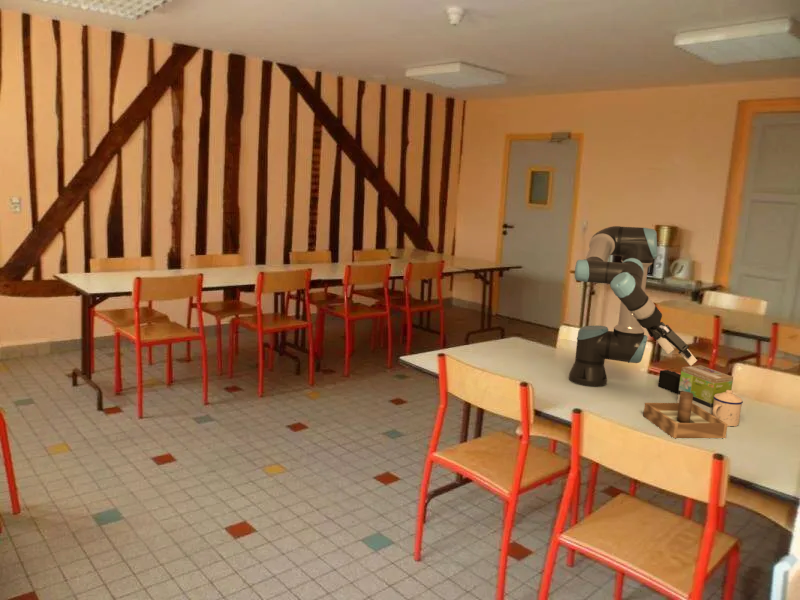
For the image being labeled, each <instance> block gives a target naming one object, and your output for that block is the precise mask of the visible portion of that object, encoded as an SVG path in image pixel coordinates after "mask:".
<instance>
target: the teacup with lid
mask: <svg viewBox="0 0 800 600" xmlns="http://www.w3.org/2000/svg"><path fill="white" fill-rule="evenodd" d="M743 403H744V401H743V399H742V398H741V397H739V396H737V395H736V394H735V393H733V390H732V389H731V390H726V392H723V393H718V394H715V395H714V403H713V410H712V415H713V416H715V417H716V418H718V419H720V420H721V421H723V422H725V423H726V424H728V425H727V427H730V426H734V427H737V425H738V426H739V423H740V419H741V412H742V405H743Z"/></svg>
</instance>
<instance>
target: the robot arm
mask: <svg viewBox="0 0 800 600" xmlns="http://www.w3.org/2000/svg"><path fill="white" fill-rule="evenodd" d="M657 236H658V233H657V231H656V230H655V229H654V228H648V227H640V226H639V227H637V226H633V227H632V226H621V225H620V226H619V225H614V226H608V227H605V228H603V229H600V230H599V231H597V232H596V233H595V234H594V235H592V236H591V238H590V241H589V246H588V247H589V250H588V253H587V254H586V257H585V259H584V258H583V259H578V260H576V263H575V269H574V279H575V280H576V281H578V282H584V283H596V284H607V285H609V286H610V289H611V291H612V292H613V293H614V295H615V296H616V297H617V298H618V299H619V301H620V306H619V312H618V313H619V314H618V323H617V324H616V325H615V326H614V327H613V331H612V330H611V331H610V330H609V327H608V326H606V325H585V326H582V327H580V328H579V329H578V333H577V337H576V349H575V358H574V363H573V366H572V368H571V369H570V371H569V375H568V376H569V377H568V380H569V381H570V382H572V383H574V384H578V385H580V386H585V387H603V386H606V385H607V382H608V375H607V373H606V368H605V360H610V361H617V362H622V363H623V362H624V363H628V364H630V363H631V364H632V363H633V364H639V363H640V362H642V359H643V358H644V357H643V356H644V353H645V349H646V346H647V342H648V335H646V334H645V330H646V331H647V333H648V334H649V336H650V338H653V339H654V340H656V342H657V344H658V345H659V346H660V347H661V348H662V350H663V351H664V352H665V353H666V355H669V354H670V353H671V352H673V351H674V349H677V351H678V352H677V353H678V354H680V355H681V357H682V358H683V360H684V361H686V363H687V364H688V365H689V366H694V364H695V363H696V362H697V361H698V359H696V356H694V354H692V352H691V351H690V346H689V344H687V343H686V341H684V340H683V339H682V338H681V336H679V335H678V334H677V333H676V332H674V330H673V329H672V328H671V327H670V326H669V324H665V323H664V322H663V321H661V320H662V319H663V314H662V312H661V310H660V309H659V308H658V307H657V306H656V304H655V303H654V302H653V300H652V299H651V298H650V297H649V296H648V295H647V293H646V286H647V278H648V270H649V267H650V266H651V265H653V262H654V260H657V259H658V237H657ZM610 256H617V257H621V260H620V261H621V262H614V261H609V258H610ZM644 329H645V330H644ZM674 347H675V348H674Z"/></svg>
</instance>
